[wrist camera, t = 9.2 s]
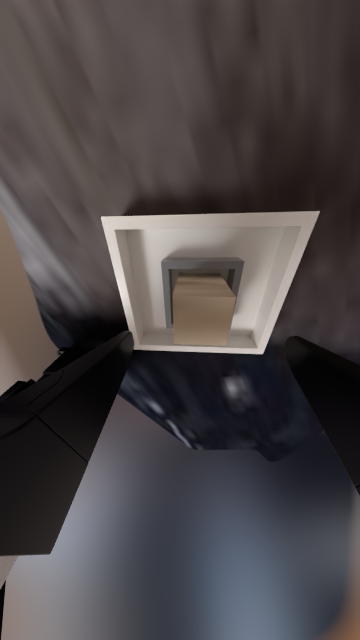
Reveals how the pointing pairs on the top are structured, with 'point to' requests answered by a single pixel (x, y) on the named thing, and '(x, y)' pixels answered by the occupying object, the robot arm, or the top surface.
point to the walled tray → (206, 270)
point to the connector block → (202, 309)
